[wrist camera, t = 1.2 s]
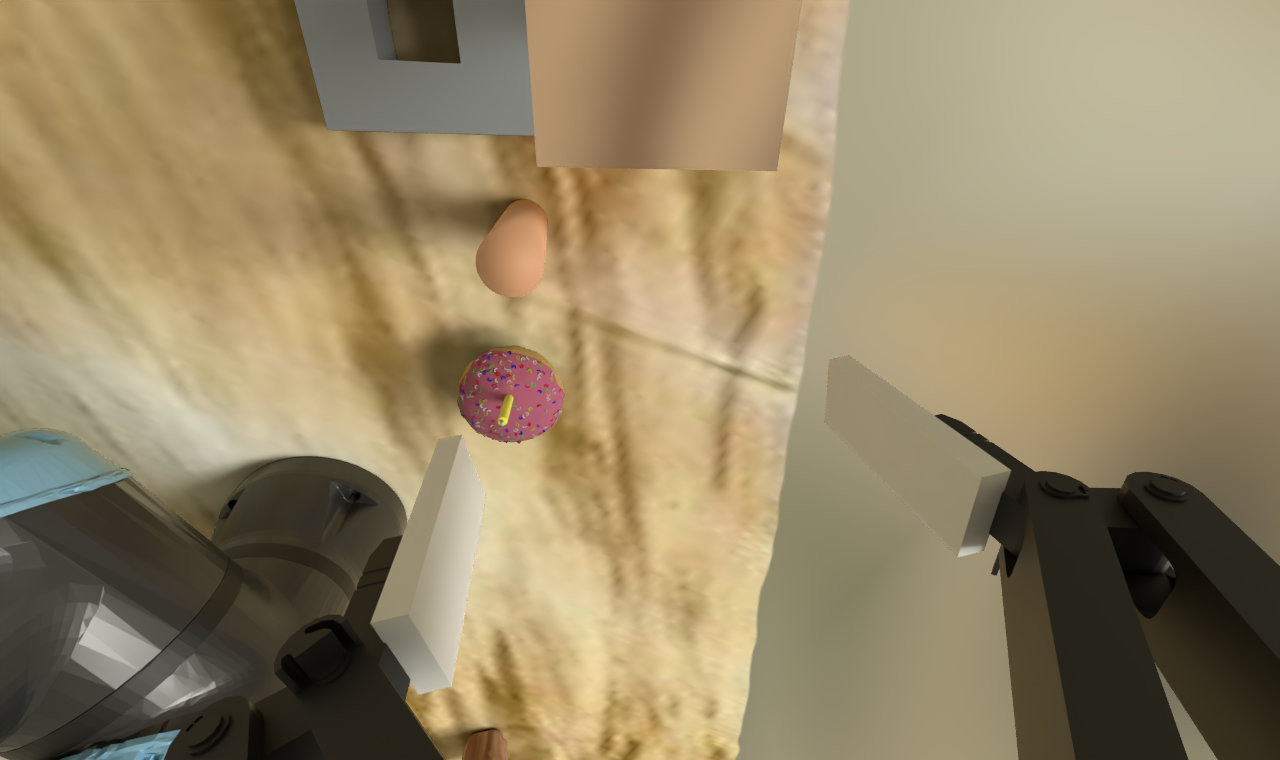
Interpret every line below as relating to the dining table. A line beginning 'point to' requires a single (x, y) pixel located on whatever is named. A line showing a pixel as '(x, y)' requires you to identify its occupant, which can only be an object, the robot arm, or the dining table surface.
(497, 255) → the peg
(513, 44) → the socket block
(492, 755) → the cupcake
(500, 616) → the dining table surface
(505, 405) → the cupcake
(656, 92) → the wooden t-shaped stand
